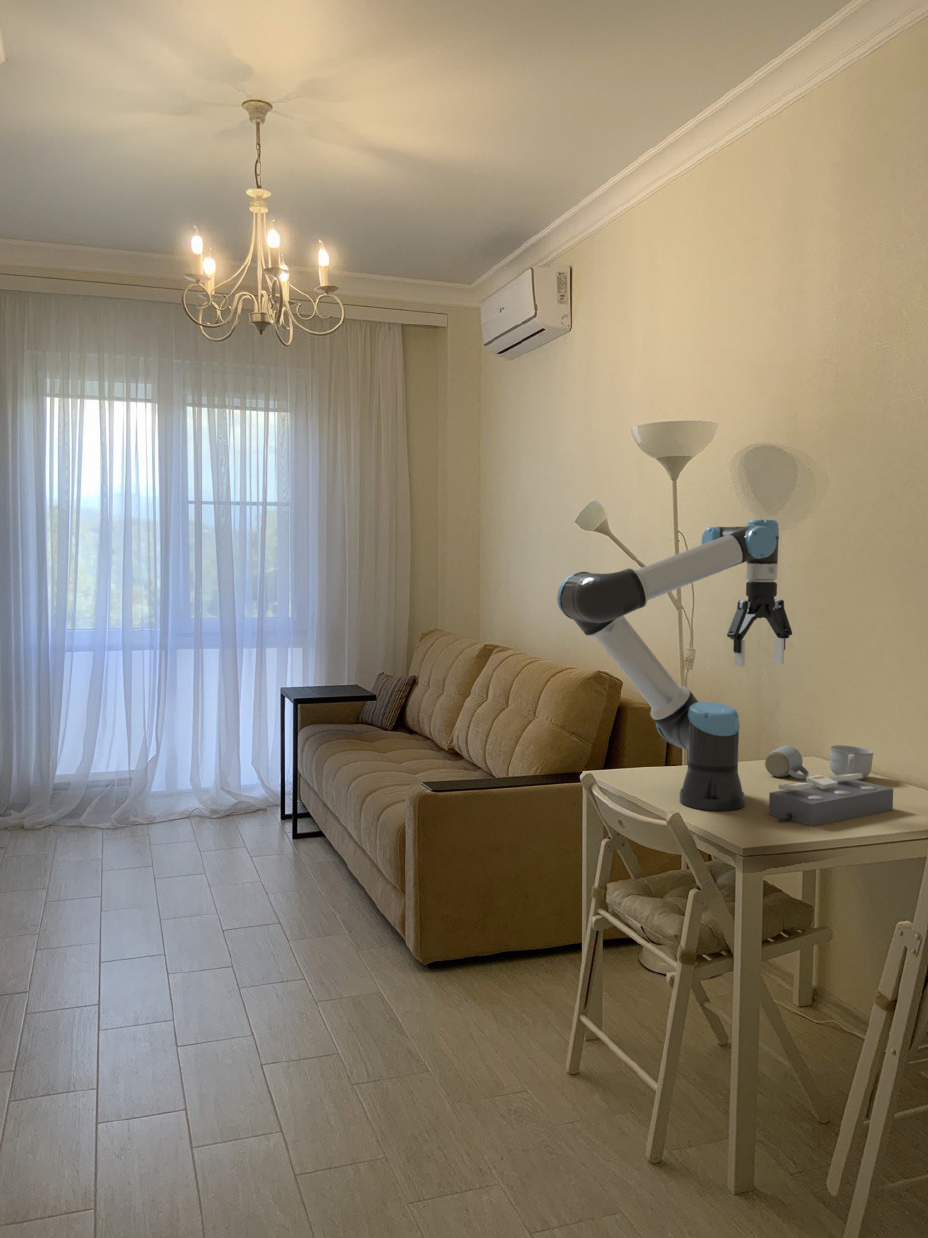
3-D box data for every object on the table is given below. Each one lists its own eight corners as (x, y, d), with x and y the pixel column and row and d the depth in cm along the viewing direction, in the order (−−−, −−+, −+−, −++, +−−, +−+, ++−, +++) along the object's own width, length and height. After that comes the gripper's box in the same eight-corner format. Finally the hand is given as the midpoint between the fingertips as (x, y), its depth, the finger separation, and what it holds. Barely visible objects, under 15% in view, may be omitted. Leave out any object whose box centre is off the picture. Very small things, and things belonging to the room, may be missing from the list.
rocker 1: (796, 791, 231) (795, 785, 231) (779, 790, 235) (778, 784, 235) (811, 788, 233) (810, 782, 233) (794, 788, 237) (793, 781, 237)
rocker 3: (849, 781, 240) (848, 775, 240) (831, 782, 244) (830, 776, 244) (863, 779, 242) (862, 772, 243) (845, 779, 247) (844, 773, 247)
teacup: (833, 771, 279) (834, 742, 278) (875, 776, 273) (876, 747, 273) (822, 781, 267) (823, 751, 266) (866, 787, 261) (867, 756, 261)
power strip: (799, 828, 222) (800, 805, 222) (757, 816, 232) (758, 793, 232) (892, 809, 239) (893, 787, 238) (849, 798, 249) (850, 777, 249)
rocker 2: (822, 790, 235) (823, 784, 235) (805, 782, 240) (806, 776, 239) (836, 787, 238) (837, 781, 238) (819, 779, 242) (820, 774, 242)
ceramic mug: (762, 776, 274) (763, 747, 273) (775, 771, 280) (776, 743, 279) (800, 782, 267) (802, 753, 266) (813, 777, 273) (814, 749, 272)
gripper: (735, 581, 249) (733, 668, 250) (808, 581, 261) (805, 663, 262) (714, 580, 255) (711, 665, 257) (785, 580, 267) (783, 660, 269)
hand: (759, 664), depth 260 cm, fingers open, 13 cm apart
